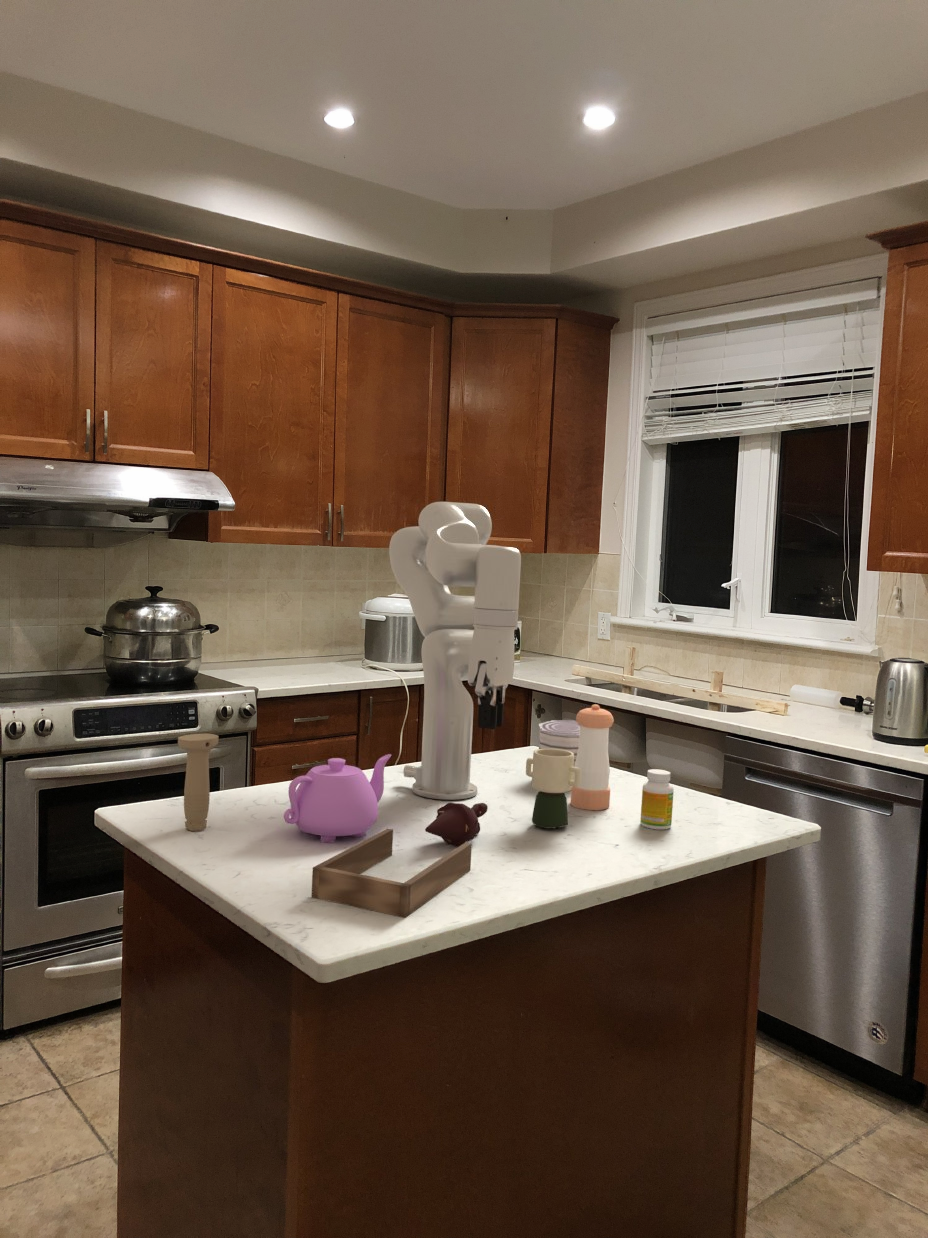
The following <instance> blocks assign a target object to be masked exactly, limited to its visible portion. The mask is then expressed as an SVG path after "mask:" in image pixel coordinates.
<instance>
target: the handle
mask: <svg viewBox="0 0 928 1238" xmlns="http://www.w3.org/2000/svg"><path fill="white" fill-rule="evenodd" d="M219 738H220V737H219V735H217V734H213V733H206V732H205V733H193V734H191V733H190V734H186V735H182V736H178V737H177V745H178V747H180V748H181V749H182V750H185V751H186V757H187V758H186V768H185V779H184V790H183V791H184V792H183V793H184V794H183V810H184V812H183V813H184V819H185V820H186V821H184V824H185V825H184V826H185V829H186V831H187V830H189V831H190V832H195V831H196V832H197V831H198V832H201V831H203V830H204V829H206V828H207V824H208V820H207V819H208V815H209V808H210V806H209V805H210V796H211V795H210V790H211V789H210V767H209V766H210V764H209V763H210V762H209V761H210V760H209V758H210V757H209V756H210V751H211V750H212V749H213V748H215V747H217V745H219Z"/></svg>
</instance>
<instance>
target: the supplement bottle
mask: <svg viewBox="0 0 928 1238" xmlns="http://www.w3.org/2000/svg"><path fill="white" fill-rule="evenodd" d="M646 778H647V780H648V781H645V782H644V783H643V785H642V789H641V792H642V793H641V808H640V820H639V821H640V823H639V824H640V825H641V826H642V827H644V828H647V829H650V830H664V831H665V830H668V829H671V827H672V824H673V823H672V821H673V807H674V805H673V804H674V790H675V789H674V787H673V785H672V784H671V783H670V781H671V771H667V770H665V769H660V768H659V769H656V768H654V769H652V768H651V769H648V770H647V774H646Z"/></svg>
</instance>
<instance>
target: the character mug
mask: <svg viewBox="0 0 928 1238" xmlns="http://www.w3.org/2000/svg"><path fill="white" fill-rule="evenodd" d="M532 757H533V758H532ZM532 757H527V758H526V761H525V762H526V763H525V775H526V776H528V777H531V787H532V788H533V789H534V790H536V791H538V792H537V794H536V796H535V801H534V805H533V810H532V817H531V823H532V824H534V825H535V826H536V827H540V828H544V829H547V828H548V829H550V828H551V829H552V828H554V829H559V828H562V827H566V826H569V812H568V811H569V809H568V800H567V797H566V796H567V795H566V794H565V793H567V792H569V791H571V788H572V786H575V787H579V785H580V778H581V770H580V769H579V768H578V767H574V753H572V752H570V751H567V750H561V749H539V748H538V749H537V748H536V749H535V750H533V753H532ZM574 773H575V781H573V780H574Z"/></svg>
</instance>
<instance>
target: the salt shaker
mask: <svg viewBox="0 0 928 1238" xmlns="http://www.w3.org/2000/svg"><path fill="white" fill-rule="evenodd" d="M575 721H577V723H578V725H580V732H579V747H578V752H577V757H576V761H575V766H574V767H578V768H579V769H580V770H581V778H580V785H579V787H575V786H572V788H571V790H570V805H571V806H572V807H574V808H577V809H580V810H588V811H602V810H606V809H609V808H610V804H611V802H610V801H611V787H610V786H609V785H610V774H611V773H610V772H611V769H610V767H611V766H610V760H609V759H610V758H609V736H610V735H609V734H610V733H609V732H610V731H609V730H610V728H612V727H613V724H614V722H615V720H614V716H613V715H612V713H611V712H610V711H608V710H606V709H604V708H601V706H600V705H599V704H596V703H595V704H592V705H591V707H586V708H583V709H580V710H579V711H578V712H577V714H576V716H575ZM574 781H575V773H574Z"/></svg>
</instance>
